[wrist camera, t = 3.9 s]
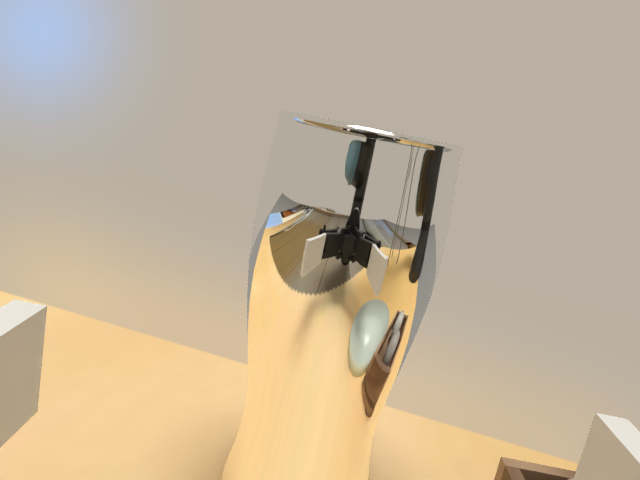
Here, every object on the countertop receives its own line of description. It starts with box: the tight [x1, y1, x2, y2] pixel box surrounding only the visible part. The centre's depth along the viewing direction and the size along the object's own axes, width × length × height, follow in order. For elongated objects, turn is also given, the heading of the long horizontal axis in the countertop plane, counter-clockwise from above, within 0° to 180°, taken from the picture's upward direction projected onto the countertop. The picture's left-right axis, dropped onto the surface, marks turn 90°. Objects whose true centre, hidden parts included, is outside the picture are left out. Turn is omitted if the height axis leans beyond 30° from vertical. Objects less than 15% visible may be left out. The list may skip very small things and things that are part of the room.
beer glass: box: [221, 111, 463, 480], centre depth 21 cm, size 7×7×15 cm
